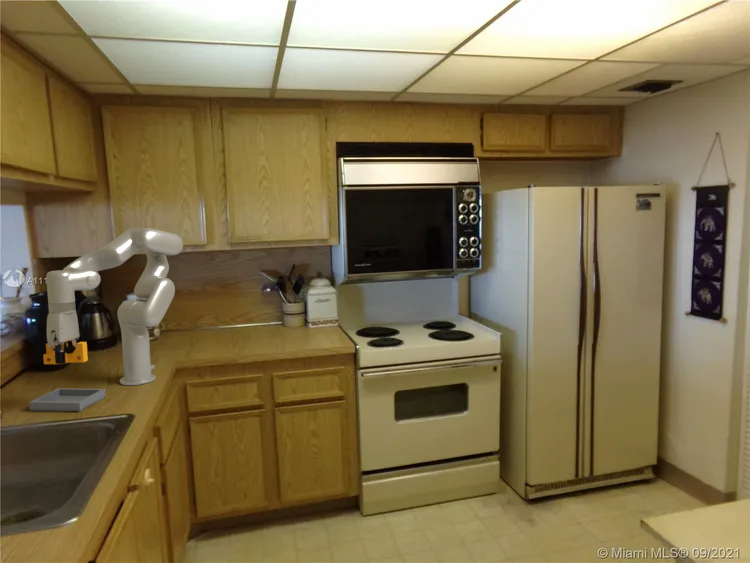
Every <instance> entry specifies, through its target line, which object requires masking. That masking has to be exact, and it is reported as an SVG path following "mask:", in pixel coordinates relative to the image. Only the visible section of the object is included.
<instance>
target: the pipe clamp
mask: <svg viewBox="0 0 750 563" xmlns="http://www.w3.org/2000/svg"><path fill="white" fill-rule="evenodd" d="M76 344H77V345H76V347H75V348H76V349H75V351H74V352H73V353H72V354H67V353H66V352H65V356H66V363H65V364H68V363H69V364H70V363H85V362H87V361H89V357H88V344H87V341H79V342H77V343H76ZM45 349H46V353H44V354H43V357H42V358H43V365H57V364H56V362H55V352H53V349H52V348H51V347H49V346H48V342H47V343H45Z"/></svg>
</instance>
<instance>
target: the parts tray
mask: <svg viewBox="0 0 750 563" xmlns="http://www.w3.org/2000/svg"><path fill="white" fill-rule="evenodd" d="M105 398H106V389H105V388H71V387H70V388H68V387H67V388H66V387H65V388H61V387H58V388H56V389H54V390H52V391H50V392H47V393H46V394H43V395H41V396H39V397H36V398H35V399H33V400H31V401H28V405H29V407H28V408H29V412H50V411H81V410H83V409H84V408H86V407H88V406H90V405H91V406H93V405H95V404H96V403H95V402H97V401H98V402H100V401H101V399H102V400H104V399H105ZM99 400H100V401H99ZM98 402H97V403H98ZM94 403H95V404H94ZM92 404H93V405H92ZM91 406H90V407H91ZM88 408H89V407H88ZM86 409H87V408H86ZM84 410H85V409H84ZM84 410H83V411H84ZM81 412H82V411H81Z"/></svg>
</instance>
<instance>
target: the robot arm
mask: <svg viewBox="0 0 750 563" xmlns="http://www.w3.org/2000/svg"><path fill="white" fill-rule="evenodd" d="M183 249H184V242H183V239H182V238H181V236H180V235H178V234H176V233H173V232H168V231H164V230H162V229H161V230H159V229H156V228H151V227H131V228H128V229H126V230H125V231H123V232H122V233H120V234H119V235H117V237H115V238H114V239H113V240H111V241H110V242H108V243H107V244H105V245H104V246H102V247H100V248H98V249H96V250H93V251H91V252H89V253H87V254H83V255H82V256H80V257H78V258H77V259H75V260H74V261H72V262H70V263H69V264H68V265H67V266H65V267H64V268H63V269H62V270H51V271H48V272H47V273H46V279H45V280H46V288H47V289H46V290H47V302H48V314H47V316H46V317H47V318H46V340H47V343H48V346H49V347H51V348H52V349H53V352H55V362H56V364H55V365H65V364H67V363H66V356H65V353H67V354H72V353H73V352H74V351H75V349H76V345H77V343H78V340H79V338H80V336H81V334H80V328H79V321H78V320H79V319H78V315H77V310H76V296H75V291H91V290H94V289H95V288H97V287H99V285H100V283H101V280H102V279H101V275H100V274H99V271H104V270H108V269H109V270H110V269H113V268H116V267H120V266H121V265H123V264H124V263H125V262H127V261H128V260H129V259H130V258H131V257H132V256H133V257H134V255H135V254H136V253H138V252H139V251H144V252H145V254H146V258H147V261H146V266H145V268H144V270H143V272H142V273H141V275H140V277H139V279H138V280H137V282H136V284H135V287H134V289H133V293H134V295H135V296H136V297H135V298H137V299H139V300H135V299H133V300H132V299H130V300H126V301H123V302H122V303H121V304H120V305H119V307H118V309H117V320H118V323H119V324H118V325H119V327H120V332H121V346H122V348H121V349H122V363H123V364H122V366H123V376H122V377H121V378H120V379H119V384H121V385H123V386H137V385H138V386H139V385H145V384H148V383H151V382H153V381H155V380H156V378H157V377H156V375H155V374H153V373H152V371H153V370H154V369H155V367H156V366H155V365H154V364H151V352H150V351H151V350H150V332H149V330H148V327H149V328H153V327H156V326H158V325H159V324H161V322H162V320H163V318H164V316H165V315H166V313H167V311H168V309H169V308H170V305H171V303H172V302H173V299H174V297H175V292H176V287H175V283H174V282H173V281H172V280H171V279H170V278H168V277H167V276H168V273H169V271H170V264H169V261H168V259H167V256H176V255H178V254H180V253H181V252H182V251H183ZM65 345H66V347H65ZM64 348H65V351H64Z"/></svg>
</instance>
